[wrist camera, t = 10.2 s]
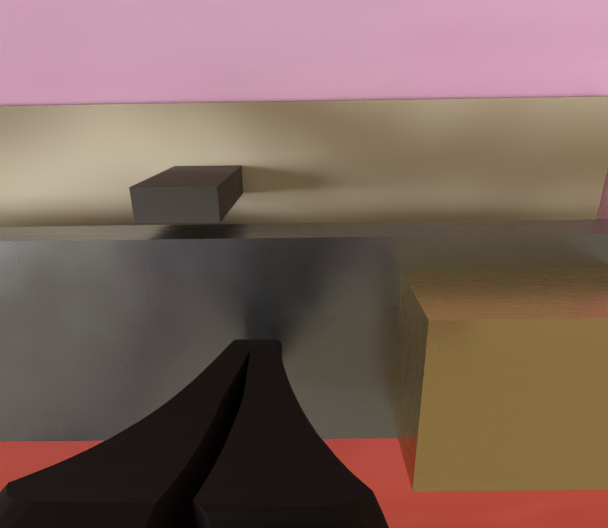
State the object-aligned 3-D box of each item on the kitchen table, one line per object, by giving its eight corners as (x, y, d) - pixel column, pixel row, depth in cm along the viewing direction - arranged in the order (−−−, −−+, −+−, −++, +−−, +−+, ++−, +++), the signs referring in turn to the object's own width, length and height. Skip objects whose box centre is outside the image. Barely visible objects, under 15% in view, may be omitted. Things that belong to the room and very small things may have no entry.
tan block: (577, 411, 14) (645, 489, 11) (391, 413, 14) (412, 491, 11) (614, 267, 12) (705, 316, 9) (400, 269, 12) (428, 320, 10)
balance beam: (568, 406, 16) (593, 436, 14) (-141, 412, 16) (-184, 443, 15) (614, 219, 13) (651, 233, 12) (-226, 230, 14) (-288, 245, 12)
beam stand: (535, 419, 20) (601, 515, 16) (-51, 414, 21) (-155, 504, 16) (605, 96, 15) (734, 95, 11) (-166, 108, 16) (-363, 112, 11)
